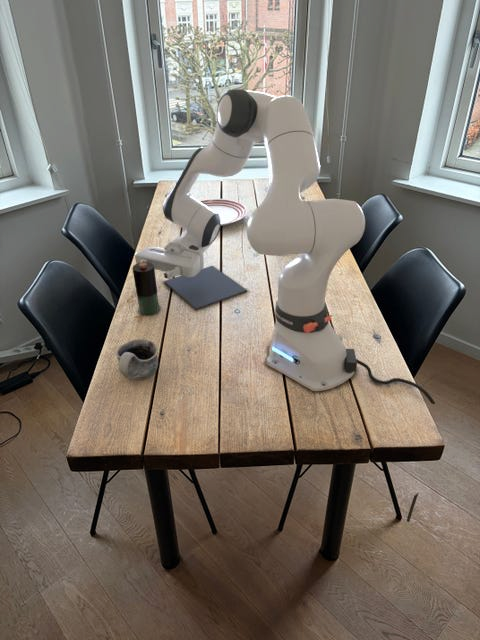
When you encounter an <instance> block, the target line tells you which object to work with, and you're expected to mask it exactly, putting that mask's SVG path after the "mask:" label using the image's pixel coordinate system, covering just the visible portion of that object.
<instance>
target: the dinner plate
mask: <svg viewBox="0 0 480 640" xmlns="http://www.w3.org/2000/svg"><path fill="white" fill-rule="evenodd" d="M199 201H200V202H201V203H203V204H204V205H206V206H207V207H209V208H210V209H212V210H213V211H215V212H216V213H217V214H218V215H219V217H220V223H221V227H223V226H226V225H231V224H233V223H236V222H238V221H240V220H242V219H243V218H245V217H246V216H247V214H248V208H247V206H246V205H244V204H243V203H242V202H239V201H236V200H234V199H233V200H232V199H226V198H209V199H208V198H207V199H202V200H199Z"/></svg>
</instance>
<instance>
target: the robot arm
mask: <svg viewBox="0 0 480 640" xmlns="http://www.w3.org/2000/svg"><path fill="white" fill-rule="evenodd" d="M216 108H217V109H216V123H217V124H216V127H215V129H214V131H213V134H212V136H211V139H210V141H209V143H208V144H207V145H206V146H200V147H199V148H197V149H196V150H195V151H194V152H193V153H192V155H191V156H190V158H189V159H188V161H187V163H186V164H185V165H184V168H183V169H182V171H181V173H180V175H179V176H178V179H177V181H176V182H175V184H174V185H173V187H172V188H171V190H170V192H169V193H168V195H167V196H166V197H165V199H164V201H163V203H162V211H163V215H164V218H165V219H166V220H168V221H170V222H172V223H173V224H175V225H177V226H179V227H180V228H182V229H183V230H184V232H182V233H181V235H179V236H176V237H175V238H174V239H172V240H170V241H169V242H168V243H167V244H165V246H164V248H162V247H157V246H147V247H145V248H142V249H140V250H138V251H137V252H136V253H135V254H134V259H135V264H138V263H141V262H149V263H152V264H153V265H154V269H155V270H157V271H159V272H163V276H164V277H163V278H165V279H166V280H169V279H172V278H175V277H179V276H186V277H194V276H195V275H197V274H198V273H199V272H200V270H202V269H204V268H205V266H204V264H205V259H204V253H206V251H207V250H208V249H209V248H210V247H211V245H212V244H213V243H214V241H216V239H217V238H218V236H219V233H220V232H221V231H220V230H221V227H222V226H221V223H220V217H219V215H218V214H217V213H216V212H215V211H213V210H212V209H210V208H209V207H207V206H206V205H204V204H203V203H201V202H200V201H201V200H198V199H196V198H195V197H194V195H192V194H191V190H192V188H193V186H194V185H195V183H196V181H197V180H198V177H199V176H200V174H202V175H203V174H204V175H210V176H214V177H219V178H228V177H233V176H235V175H238V174H239V173H240V172H241V171H243V169H244V167H245V166H246V164H247V162H248V160H249V158H250V155H251V152H252V151H253V147H254V145H255V143H256V144H260V145H264V150H265V156H266V157H265V158H266V163H267V170H268V179H269V181H268V183H269V184H268V189H267V193H266V195H265V197H264V199H263V201H262V202H261V203H260V204H259V206H258V207H257V208H255V209H254V210H253V211H252V213H251V214H250V216H249V217H248V220H247V223H246V237H247V241H248V243H249V245H250V247H251V248H252V249H253V250H254V251H255V252H256V253H257V254H258V255H263V256H274V257H283V256H284V257H285V256H293V255H298V256H296V258H295V259H293V260H292V261H290V262H288V263H287V264H286V265H285V266H284V267H283V268H282V269H281V271H280V273H279V275H278V282H277V300H276V302H275V306H274V317H275V324H274V328H273V331H272V336H271V342H270V345H269V349H268V353H269V355H268V356H267V358H266V365H267V366H269V367H270V368H272V369H274V370H275V371H278V372H279V373H281V374H283V375H284V376H286V377H288V378H290V379H291V380H293V381H295V382H297V383H298V384H300V385H302V386H303V387H305V388H307V389H309V391H310V390H311V391H312V392H323V391H327V390H330V389H333V388H336V387H338V386H340V385H342V384H344V383H345V382H347V381H348V380H350V379H351V378H352V377H353V376H354V374H355V373H356V371H357V365H360V366H362V367H363V368H365V369H366V371H367V375H368V378H369V379H370V380H371V381H373V382H374V383H376V384H379V385H380V384H381V385H389V384H392V383H395V382H399V383H404V384H407V385H410V386H412V387H414V388H416V389H417V390H418V391H420V392H421V393H422V394H423V395H424V396H425V397H426V398H427V399H428V401H429V402H430V403H431V404H432V405H435V404H436V402H435V401H434V399H433V398H432V396H431V395H430V394H429V392H427V391H426V390H425V388H423V387H422V386H421V385H419V384H418V383H415V382H413V381H411V380H407V379H404V378H399V377H393V378H391V379H388V380H381V379H377V378H376V377H374V376H373V374H372V370H371V368H370V366H369V365H368V364H367V363H365V362H363V361H361V360H359V359H357V356H356V352H355V348H346V345H345V344H344V343H343V337H342V335H341V334H340V333H336V330H335V329H334V328H333V326H332V325H331V323H330V321H331V320H332V319H333V318H332V317H333V315H332V314H330V315H329V314H328V309H327V306H326V295H327V290H328V289H327V288H328V283H329V279H330V276H331V274H332V271H333V270H334V269H335V266H336V264H337V263H338V262H339V260H340V259H341V258H342V257H343V256H344V255H345V254H346V252H348V251H349V250H350V249H351V248H353V247H354V246H355V245H357V244H358V243H359V242H360V240H361V239H362V237H363V235H364V232H365V230H366V217H365V214H364V211H363V210H362V208H361V206H360V205H359V204H358V203H357V202H356V201H355V200H348V199H343V198H342V199H341V198H326V199H315V200H303V199H302V198H301V194H302V193H303V192H305V191H306V190H309V188H311V187H312V186H313V185H314V184H315V183H316V182H317V180H318V178H319V176H320V173H321V164H320V159H319V153H318V149H317V144H316V140H315V135H314V131H313V128H312V124H311V122H310V118H309V116H308V114H307V111H306V108H305V107H304V105H303V103H302V101H301V100H300V99H299V98H297V97H295V96H292V95H280V96H275V95H271V94H268V93H266V92H262V91H261V92H260V91H255V90H254V91H253V90H246V89H244V88H230V89H227V90H226V91H225V92H224V93H223V94H222V96H221V97H220V99H219V101H218V104H217V107H216ZM418 496H419V492H417V493H416V494H415V495H413V498H412V501H411V505H410V508H409V510H408V514H407V518H406V522H407V523H410V522H411V517H412V514H413V511H414V508H415V505H416V502H417V499H418Z"/></svg>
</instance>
